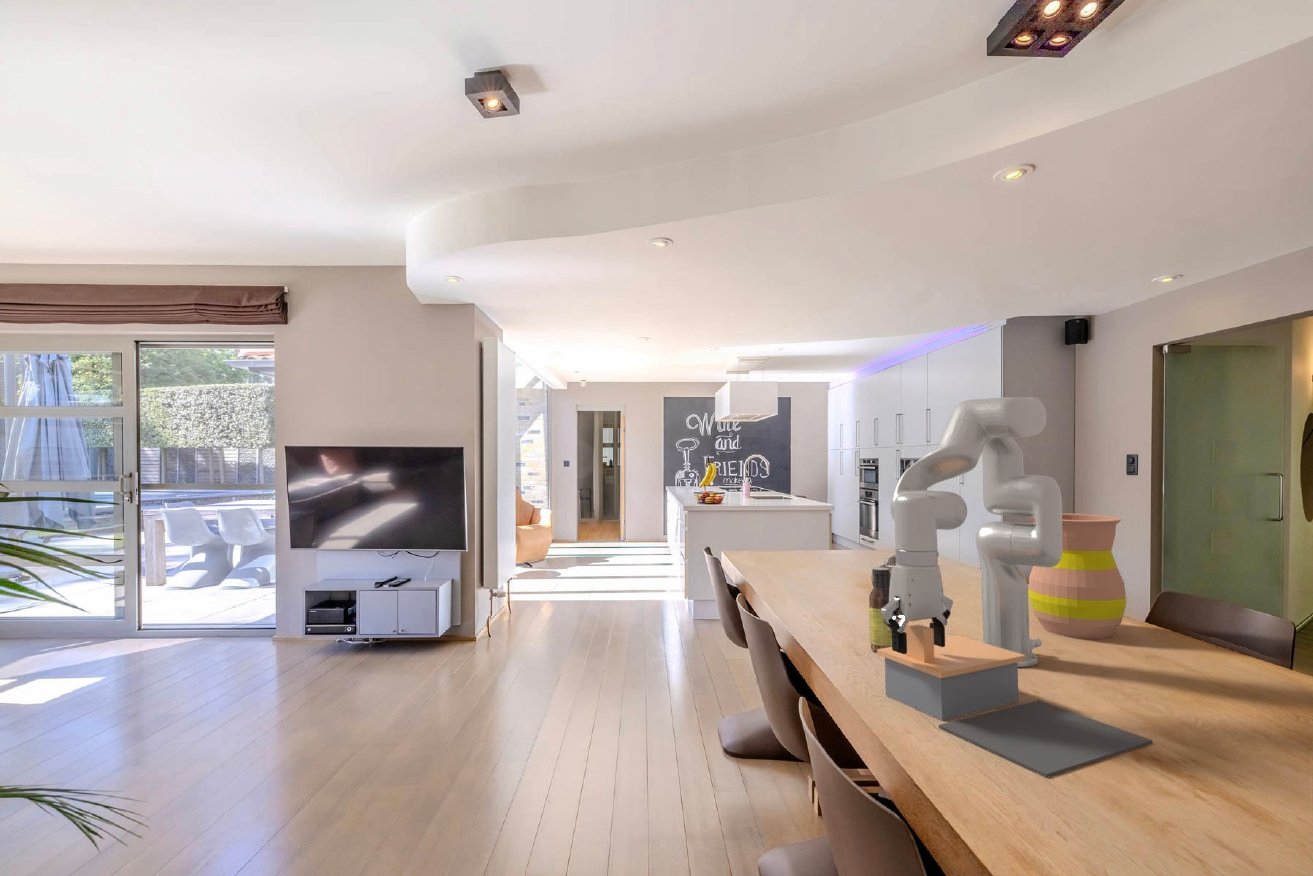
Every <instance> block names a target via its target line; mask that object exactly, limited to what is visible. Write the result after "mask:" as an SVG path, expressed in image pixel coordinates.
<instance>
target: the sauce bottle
mask: <svg viewBox="0 0 1313 876" xmlns="http://www.w3.org/2000/svg"><path fill="white" fill-rule="evenodd" d="M871 572H872V576H873V577H872V579H873V584H872V585H873V588H872V590H871V592H870V593H869V595H868V596H869V597H868V599H869V604H868V605H869V606H868V610H869V611H868V612H869V613H868V615H869V619H868V620H869V640H870V641H869V643H870V649H871V651H872V652H875V653H877V649H882V648H888V647H892V630H890V629H889V627H888V625H887V624H886V623H885V622H884V618H883V616H882V614H881V609H882V608H883V607H884V606H885V605H886V604H888V603H889V588H890V576H891V570H890V568H888V567H872V571H871Z"/></svg>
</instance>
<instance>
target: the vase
mask: <svg viewBox="0 0 1313 876" xmlns="http://www.w3.org/2000/svg"><path fill="white" fill-rule="evenodd" d="M1028 519H1030V520H1031V522H1032V524H1035V520H1034V518H1032V517H1028ZM1122 520H1123V518H1121V517H1119V516H1112V515H1103V514H1091V513H1090V514H1087V513H1062V538H1063V546H1062V556H1061V560H1060V562H1059V563H1058V564H1057V565H1056V566H1053V567H1037V566H1032V569H1031V571H1030V574H1029V576H1028V599H1029V602H1030V604H1031V607H1032V608H1031V609H1032V610H1033V611H1032V612H1033V614H1034V616H1035V618H1036V619H1037V620H1038V622H1039V623H1040V625H1041V626H1042V628H1043V629H1044V630H1045V631H1047V632H1048V633H1051V634H1054V635H1055V634H1056V635H1058V636H1062V635H1063V637H1067V638H1068V637H1069V638H1077V639H1084V640H1085V639H1087V640H1088V639H1089V640H1098V639H1099V640H1101V639H1108V638H1110V637H1112V636H1113V634H1114V633H1115V631H1116V630H1117V629H1118V628H1119V626H1120V625H1121V624H1122V622H1123V617H1124V614H1125V610H1126V607H1127V597H1126V596H1127V595H1126V587H1125V582H1124V580H1123V577H1122V575H1121V572H1120V570H1119V568H1118V565H1117V563H1116V560H1115V557H1114V555H1113V552H1112V549H1113V546H1114V542H1115V539H1116V538H1115V537H1116V530H1117V524H1119V523H1120V522H1121V521H1122Z"/></svg>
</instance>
